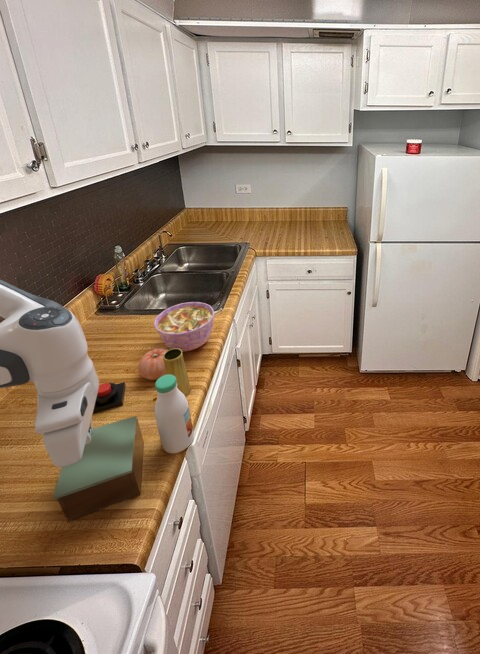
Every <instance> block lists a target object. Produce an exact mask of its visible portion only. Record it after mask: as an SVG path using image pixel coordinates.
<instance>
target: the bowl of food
mask: <svg viewBox="0 0 480 654" xmlns="http://www.w3.org/2000/svg"><path fill="white" fill-rule="evenodd" d="M214 318H215V311H214V308H213V307H212V306H211V305H210V304H207V303H205V302H201V301H189V302H188V301H187V302H181V303H178V304H175V305H172V306H170V307H167V308H166V309H164V310H163V311H162V312H160V313H158V315H157V317H156V318H155V319H154V322H153V326H154V328H155V330H156V332H157V333H158V335H159V337H160V339H161V340H162V342H163V344H164V345H165V347H166V348H169V350H170V349H173V348H178V349H181V350H182V352H190V351H193V350H196V349H198V348H200V347H201V346H203V345H205V343H206V342H207V341H208V340H209V339H210V337H211V334H212V331H213V327H214Z"/></svg>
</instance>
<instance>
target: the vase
mask: <svg viewBox="0 0 480 654" xmlns="http://www.w3.org/2000/svg"><path fill="white" fill-rule="evenodd" d="M167 350H168V351H166V352H165V353H164V355H163V360H164V365H165V369H166V375H174V376H175V377H176V380H177V388H178V389H179V390H180V391H181V392H182V393H183V394H184V396H185V397H187V396H188V395H189V394H190V392H191V390H192V388H191V387H192V386H191V385H190V380H189V375H188V372H187V367H186V363H185V358H184V355H183V351H182V350H181V349H178V348H173V349H170V348H169V349H167Z"/></svg>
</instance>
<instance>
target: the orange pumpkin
mask: <svg viewBox="0 0 480 654" xmlns="http://www.w3.org/2000/svg"><path fill="white" fill-rule="evenodd" d="M168 350H169V349H167V348H165V347H164V348H163V347H159V348H154V349H151V350H149V351H147V352H146V353H145V354H144V355H143V356H142V357H141V358H140V360H139V362H138V364H137V368H138V369H137V370H138V372H139V374H140V376H142V378H144V379H147V380H151V381H153V380H158V379H159V378H160V377H162V376H164V375H166V369H165V365H164V360H163V355H164V353H165V352H166V351H168Z"/></svg>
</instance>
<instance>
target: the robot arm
mask: <svg viewBox="0 0 480 654" xmlns="http://www.w3.org/2000/svg"><path fill="white" fill-rule="evenodd" d="M0 318H3V319H4V320H2V321H1V322H0V389H3V388H11V387H17V386H22V385H26V384H28V383H29V382H31V383H33V384H34V387H35V390H36V392H37V396H36V398H37V399H36V400H37V408H36V409H37V410H36V415H35V422H34V430H35V433H36V434H37V435H42V441H43V446H44V448H45V450H46V452H47V454H48V457H49V458H50V461H51V462H52V464H53V465H54V467H56V468H62V467H64V466H67V465H71V464H73V463H76V462H79V461H80V460H81V459H82V455H83V451H84V447H85V444H88V443H90V442H91V438H92V433H93V428H94V427H93V415H94V414H93V410H94V406H95V402H96V398H97V393H98V389H99V385H100V379H99V376H98V373H97V371H96V369H95V366H94V363H93V360H92V358H90V356H89V354H88V351H89V346H88V342H87V339H86V336H85V333H84V330H83V328H82V325H81V323H80V321H79V320H78V318H77V317H76V315H75V314H74V313H73V312H72V311H71V310H70V309H68V308H66V307H64V306H63V305H62V304H60V303H58V302H57V301H54V300H51V299H48V298H45V297H41V296H39V295H36V294H32V293H31V292H27V291H26V290H23V289H21V288H19V287H17V286H15V285H13V284H11V283H8V282H7V281H5V280H3V279H0Z"/></svg>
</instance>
